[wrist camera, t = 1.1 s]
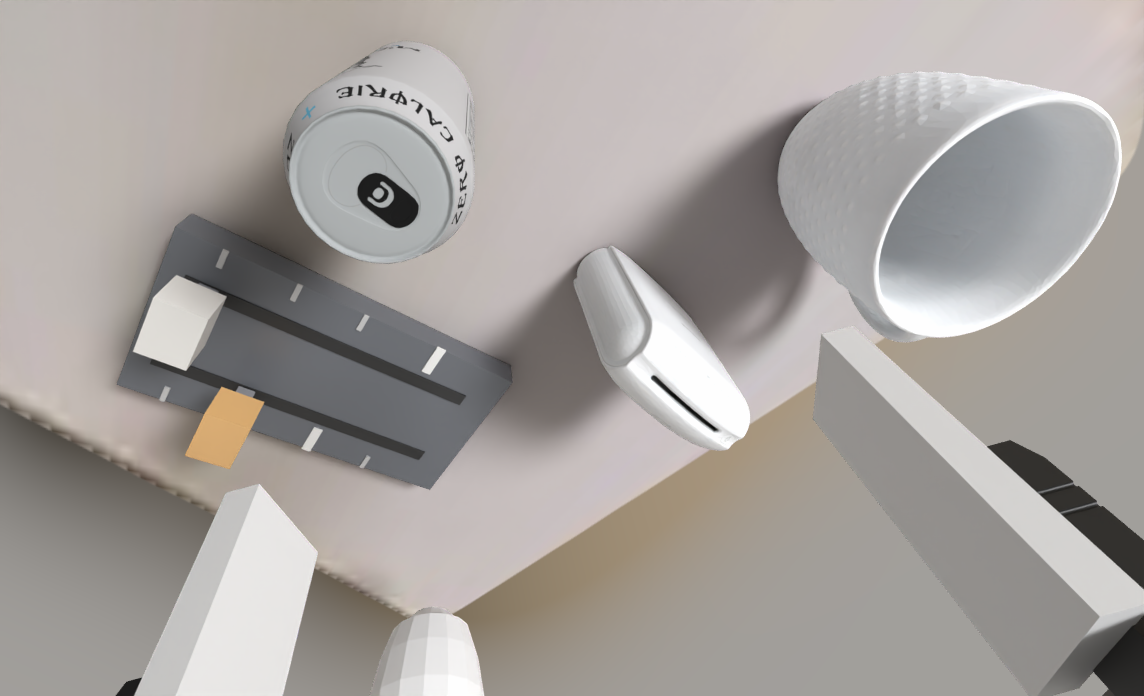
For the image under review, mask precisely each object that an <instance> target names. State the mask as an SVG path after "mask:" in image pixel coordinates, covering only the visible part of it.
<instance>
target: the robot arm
mask: <svg viewBox="0 0 1144 696" xmlns="http://www.w3.org/2000/svg"><path fill="white" fill-rule="evenodd" d="M813 420H814V421H815V422H816V424H817V425H818V426H819V428H820V429H821V430H822V432H823V433H824V434H825V435H826V436H827V438H828V439H829V441H830V442H831V443H832V444H833V446H834V447H835V448H836V449H837V451H838V452H839V453H840V455H841V456H842V457H843V458H844V460H845V461H846V462H847V464H848V465H849V466H850V467H851V469H852V470H853V471H854V472H855V474H856V475H857V476H858V478H859V479H860V480H861V481H862V483H863V484H864V485H865V487H866V488H867V489H868V490H869V492H870V493H871V494H872V496H873V497H874V498H875V499H876V501H877V502H878V503H879V505H880V506H881V507H882V508H883V510H884V511H885V512H886V514H887V515H888V516H889V517H890V519H891V520H892V521H893V522H894V524H895V525H896V526H897V527H898V529H899V530H900V531H901V533H902V534H903V535H904V536H905V538H906V539H907V540H908V542H909V543H910V544H911V546H912V547H913V548H914V549H915V551H916V552H917V553H918V554H919V556H920V557H921V558H922V559H923V561H924V562H925V563H926V565H927V566H928V567H929V568H930V570H931V571H932V572H933V574H934V575H935V576H936V578H937V579H938V580H939V581H940V583H941V584H942V585H943V586H944V588H945V589H946V590H947V592H948V593H949V594H950V595H951V597H952V598H953V599H954V601H955V602H956V603H957V604H958V606H959V607H960V608H961V610H962V611H963V612H964V613H965V615H966V616H967V617H968V618H969V620H970V621H971V622H972V624H973V625H974V626H975V627H976V629H977V630H978V631H979V633H980V634H981V635H982V636H983V638H984V639H985V640H986V642H987V643H988V644H989V645H990V647H991V648H992V649H993V650H994V652H995V653H996V654H997V656H998V657H999V658H1000V659H1001V661H1002V662H1003V663H1004V665H1005V666H1006V667H1007V668H1008V670H1009V671H1010V672H1011V674H1012V675H1013V676H1014V677H1015V679H1016V680H1017V681H1018V682H1019V684H1020V685H1021V686H1022V688H1023V689H1024V690H1025V692H1026V693H1027V694H1028V695H1029V696H1053V695H1056V694H1060V693H1064V692H1067V691H1070V690H1074V689H1077V688H1079V687H1080V686H1081V685H1082V684H1083V683H1084V682H1085V681H1086V680H1087V678H1088V677H1089V676H1090V675H1091V674H1092V673H1093V672H1094V673H1095V674H1096V675H1097V676H1098V677H1099V678H1100V680H1101V681H1102V682H1103V683H1104V684H1105V685H1106V686H1107V687H1108V689H1109V690H1107V692H1105V693H1104V695H1103V696H1144V540H1143V539H1142V538H1140V537H1139V536H1138V535H1137V534H1136V533H1134V532H1133V531H1132V530H1131V529H1130V528H1128V527H1127V526H1126V525H1125V524H1124V523H1122V522H1121V521H1120V520H1119V519H1118V518H1116V517H1115V516H1114V515H1113V514H1112V513H1110V512H1109V511H1108V510H1107V509H1106V508H1105V507H1103V506H1101V507H1100V506H1099V505H1098V504H1097V501H1096V500H1095V499H1094V498H1092V497H1091V496H1090V495H1089V494H1088V493H1087V492H1085V491H1084V490H1083V489H1082V488H1081V487H1079V486H1075V485H1074V484H1073V481H1072V480H1071V479H1070V478H1069V477H1068V476H1066V475H1065V474H1064V473H1062V471H1060V470H1059V469H1058V468H1057V467H1056V466H1054V465H1053V464H1052V463H1051V462H1049V461H1048V460H1047V459H1046V458H1044V457H1043V456H1041V455H1039V454H1037V453H1035V452H1032V451H1031V450H1029V449H1026V448H1024V447H1023V446H1021V445H1019V444H1016V443H1015V442H1013V441H1011V440H1009V441H1006V442H1002V443H998V444H995V445H991V446H987V447H986V446H985V445H984V444H983V443H982V442H981V441H980V440H979V439H977V438H976V437H975V436H974V435H973V434H972V433H971V432H970V431H969V430H968V429H966V428H965V427H964V426H963V425H962V424H961V423H960V422H959V421H958V420H957V419H956V418H954V417H953V416H952V415H951V414H950V413H949V412H948V411H947V410H946V409H945V408H943V407H942V406H941V405H940V404H939V403H938V402H937V401H936V400H935V399H934V398H932V397H931V396H930V395H929V394H928V393H927V392H926V391H925V390H924V389H923V388H921V387H920V386H919V385H918V384H917V383H916V382H915V381H914V380H913V379H912V378H910V377H909V376H908V375H907V374H906V373H905V372H904V371H903V370H902V369H901V368H899V367H898V366H897V365H896V364H895V363H894V362H893V361H892V360H891V359H890V358H888V357H887V356H886V355H885V354H884V353H883V352H882V351H881V350H879V348H877V347H876V346H875V345H874V344H873V343H872V342H871V341H870V340H869V339H868V338H866V337H865V336H864V335H863V334H862V333H861V332H860V331H859V330H858V329H857V328H855V327H854V326H850V327H846V328H842V329H839V330H835V331H831V332H827V333H824V334H821V341H820V351H819V362H818V372H817V382H816V392H815V403H814V412H813ZM317 554H318V552H317V551H316V549H315V548H314V547H313V546H312V545H311V544H310V542H309V541H308V540H307V539H306V538H305V537H304V535H303V534H302V533H301V532H300V531H299V530H298V528H297V527H296V526H295V525H294V524H293V523H292V521H291V520H290V519H289V518H288V517H287V516H286V514H285V513H284V512H283V511H282V510H281V509H280V507H279V506H278V505H277V504H276V503H275V502H274V500H273V499H272V498H271V497H270V496H269V494H268V493H267V492H266V491H265V490H264V489H263V487H262V486H261V485H260V484H257V485H253V486H249V487H245V488H242V489H238V490H234V491H230V492H227V493H226V494H225V496H224V498H223V500H222V502H221V505H220V507H219V509H218V511H217V514H216V516H215V518H214V520H213V523H212V525H211V527H210V529H209V531H208V533H207V536H206V538H205V540H204V542H203V545H202V547H201V549H200V551H199V553H198V556H197V558H196V560H195V562H194V564H193V567H192V569H191V571H190V573H189V575H188V578H187V580H186V582H185V585H184V587H183V589H182V591H181V593H180V595H179V598H178V600H177V602H176V605H175V607H174V609H173V611H172V613H171V615H170V618H169V620H168V622H167V624H166V626H165V629H164V631H163V633H162V635H161V637H160V640H159V642H158V644H157V646H156V648H155V651H154V653H153V656H152V657H151V660H150V662H149V664H148V666H147V668H146V671H145V673H144V675H143V677H142V678H139V679H135V680H131V681H128V682H126V683H125V684H124V686H123V687H122V688H121V689H120V691H119V692H118V693H117V695H116V696H283V692H284V688H285V683H286V679H287V675H288V672H289V667H290V663H291V659H292V655H293V651H294V647H295V643H296V639H297V635H298V631H299V627H300V623H301V619H302V615H303V611H304V607H305V603H306V599H307V595H308V591H309V586H310V582H311V579H312V574H313V571H314V566H315V562H316V558H317Z"/></svg>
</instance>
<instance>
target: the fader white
mask: <svg viewBox="0 0 1144 696" xmlns="http://www.w3.org/2000/svg"><path fill="white" fill-rule="evenodd" d="M218 292H219V291H218V290H215V289H213V288H211V287H208V286H206V285H204V284H201V283H199V284H196V283H194V282H192V281H189V280H187V279H185V278H182V277H180V276H178V275H176V276H175V277H174V278H173V279H172V280H171V281H170V282H169V283H168V284H167V285H165V286H164V287H163V288H162V289H161V290H160V291H159V292H158V293H157V294H156V295H155V296H154V297H153V300H152V302H151V305H150V308H149V310H148V313H147V315H146V318H145V321H144V323H143V326H142V329H141V331H140V334H139V337H138V339H137V342H136V345H135V347H134V350H133V352H135V353H138V354H141V355H144V356H146V357H149V358H152V359H155V360H157V361H160V362H163V363H166V364H168V365H171V366H174V367H177V368H180V369H182V370H185V371H186V370H187V369H188V368H189V366H190V365H191V364H192V362H193V361H194V360H195V358H196V357H197V356H198V354H199V353H200V352H201V350H202V349H203V348H204V346H205V344H206V342H207V340H208V338H209V335H210V333H211V331H212V329H213V326H214V324H215V322H216V320H217V318H218V315H219V313H220V311H221V309H222V306H223V304H224V302H225V300H226V297H227V296H224V295H222V294H220V293H218Z"/></svg>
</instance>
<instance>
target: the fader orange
mask: <svg viewBox="0 0 1144 696" xmlns="http://www.w3.org/2000/svg"><path fill="white" fill-rule="evenodd" d="M254 394H255V392H254V391H252V390H249V389H246V388H243V387H241V386H239V387H238V388H237V390H236V392H235V391H232V390H229V389H227V388H224V387H221V389H220V390H219V392H218V393H217V395H216V396H215V398H214V400H213V401H212V403H211V404H210V406H209V408H208V409H207V411H206V412H205V414H204V416H203V418H202V420H201V422H200V424H199V427H198V429H197V431H196V433H195V435H194V437H193V439H192V441H191V443H190V445H189V448H188V450H187V452H186V454H185V456H187V457H191V458H194V459H197V460H201V461H204V462H207V463H211V464H214V465H217V466H221V467H224V468H227V469H230V467H231V465H232V463H233V462H234V460H235V458H236V456H237V454H238V452H239V450H240V448H241V447H242V445H243V443H244V441H245V439H246V437H247V435H248V433H249V432H250V430H251V428H252V426H253V424H254V422H255V420H256V418H257V416H258V414H259V412H260V410H261V408H262V406H263V404H264V402H263V401H260V400H257V399H254V398H253V396H254Z"/></svg>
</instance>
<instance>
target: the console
mask: <svg viewBox="0 0 1144 696" xmlns="http://www.w3.org/2000/svg"><path fill="white" fill-rule="evenodd" d="M176 275H178V276H180V277H182V278H185V279H187V280H189V281H192V282H194V283H196V284H199V283H201V284H204V285H206V286H208V287H211V288H213V289H215V290H218V291H219V292H218V293H220V294H222V295H224V296H227V297H226V300H225V302H224V304H223V306H222V309H221V311H220V313H219V315H218V318H217V320H216V322H215V324H214V326H213V329H212V331H211V333H210V335H209V338H208V340H207V342H206V344H205V346H204V348H203V349H202V350H201V352H200V353H199V354H198V356H197V357H196V358H195V360H194V361H193V362H192V364H191V365H190V366H189V368H188V369H187V370H186V371H185V370H182V369H180V368H177V367H174V366H171V365H168V364H166V363H163V362H160V361H157V360H155V359H152V358H149V357H146V356H144V355H141V354H138V353H135V352H133V350H134V347H135V345H136V342H137V339H138V337H139V334H140V331H141V329H142V326H143V323H144V321H145V318H146V315H147V313H148V310H149V308H150V305H151V302H152V300H153V297H154V296H155V295H156V294H157V293H158V292H159V291H160V290H161V289H162V288H163V287H164V286H165V285H167V284H168V283H169V282H170V281H171V280H172V279H173V278H174V277H175V276H176ZM512 383H513V382H512V372H511V366H510V365H508V364H506V363H504V362H502V361H500V360H498V359H496V358H493V357H491V356H489V355H487V354H485V353H483V352H481V351H479V350H477V349H475V348H473V347H470V346H468V345H466V344H464V343H462V342H460V341H458V340H456V339H454V338H452V337H449V336H447V335H445V334H443V333H441V332H439V331H437V330H435V329H433V328H431V327H429V326H426V325H424V324H422V323H420V322H418V321H416V320H414V319H412V318H410V317H408V316H406V315H403V314H401V313H399V312H397V311H395V310H393V309H391V308H389V307H387V306H385V305H382V304H380V303H378V302H376V301H374V300H372V299H370V298H368V297H366V296H364V295H362V294H359V293H357V292H355V291H353V290H351V289H349V288H347V287H345V286H343V285H341V284H339V283H336V282H334V281H332V280H330V279H328V278H326V277H324V276H322V275H320V274H318V273H315V272H313V271H311V270H309V269H307V268H305V267H303V266H301V265H299V264H297V263H295V262H292V261H290V260H288V259H286V258H284V257H282V256H280V255H278V254H276V253H274V252H272V251H269V250H267V249H265V248H263V247H261V246H259V245H257V244H255V243H253V242H251V241H248V240H246V239H244V238H242V237H240V236H238V235H236V234H234V233H232V232H230V231H228V230H225V229H223V228H221V227H219V226H217V225H215V224H213V223H211V222H209V221H207V220H205V219H202V218H200V217H198V216H196V215H194V214H191V215H189V216H188V217H187V218H186V219H184V220H183V221H182V222H181V223H179V224H178V225H177V226H176V227H175V229H174V232H173V235H172V238H171V240H170V243H169V246H168V248H167V251H166V254H165V256H164V259H163V262H162V264H161V267H160V270H159V272H158V275H157V278H156V280H155V283H154V286H153V288H152V291H151V294H150V296H149V299H148V302H147V304H146V307H145V310H144V312H143V315H142V318H141V320H140V323H139V326H138V329H137V331H136V334H135V337H134V339H133V342H132V345H131V347H130V350H129V353H128V355H127V358H126V361H125V363H124V366H123V369H122V371H121V374H120V377H119V379H118V382H117V385H119V386H122V387H125V388H128V389H131V390H134V391H137V392H140V393H143V394H146V395H149V396H152V397H155V398H158V399H159V400H160V401H163V402H165V401H167V402H170V403H173V404H176V405H179V406H182V407H185V408H188V409H191V410H194V411H197V412H200V413H203V414H205V412H206V411H207V409H208V408H209V406H210V404H211V403H212V401H213V400H214V398H215V396H216V395H217V393H218V392H219V390H220V389H221V387H224V388H227V389H229V390H232V391H235V392H236V390H237V388H238V387H239V386H241V387H243V388H246V389H249V390H252V391H254V392H255V394H254V396H253V398H254V399H257V400H260V401H263V402H264V404H263V406H262V408H261V410H260V412H259V414H258V416H257V418H256V420H255V422H254V424H253V426H252V428H251V430H253V431H256V432H259V433H262V434H265V435H268V436H271V437H274V438H277V439H280V440H283V441H286V442H289V443H292V444H295V445H298V446H301V447H302V448H301V449H303V450H306V451H309V452H310V451H311V450H313V451H316V452H319V453H322V454H325V455H328V456H331V457H334V458H337V459H340V460H343V461H346V462H349V463H352V464H355V465H358V466H359V467H360V468H367V469H370V470H373V471H376V472H379V473H382V474H385V475H388V476H390V477H393V478H396V479H399V480H402V481H405V482H408V483H411V484H414V485H417V486H420V487H423V488H426V489H429V490H430V489H431V487H432V486H433V485H434V483H435V482H436V481H437V480H438V478H439V477H440V476H441V474H442V473H443V472H444V471H445V469H446V468H447V467H448V465H449V464H450V463H451V461H452V460H453V459H454V458H455V456H456V455H457V454H458V452H459V451H460V450H461V449H462V447H463V446H464V445H465V443H466V442H467V441H468V439H469V438H470V437H471V436H472V434H473V433H474V432H475V430H476V429H477V428H478V427H479V425H480V424H481V423H482V421H483V420H484V419H485V417H486V416H487V415H488V414H489V412H490V411H491V410H492V408H493V407H494V406H495V405H496V403H497V402H498V401H499V399H500V398H501V397H502V395H503V394H504V393H505V392H506V390H507V389H508V388H509V386H510V385H511V384H512Z"/></svg>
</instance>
